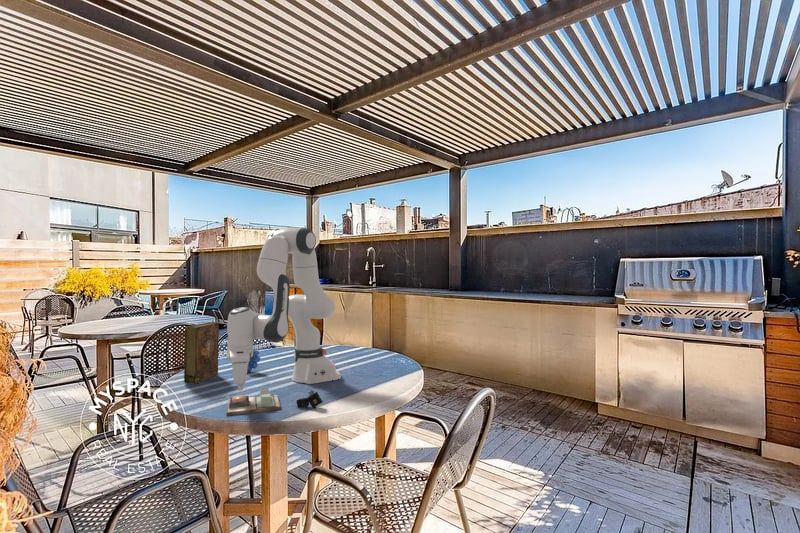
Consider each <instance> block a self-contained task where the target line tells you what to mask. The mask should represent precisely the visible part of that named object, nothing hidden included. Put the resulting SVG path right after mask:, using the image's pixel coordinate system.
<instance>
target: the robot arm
mask: <svg viewBox="0 0 800 533" xmlns="http://www.w3.org/2000/svg"><path fill="white" fill-rule="evenodd" d="M316 243H317V238H316V235H315V233H314V232H313V230H312V229H309V228H305V227H302V228H299V227H288V228H275V229H273V230H271V231H269V233H268V235H267V238H266V239H265V241H264V243H263V246H262V248H261V251H260V254H259V257H258V262H257V266H256V274H257V276H258V278H259V280H260V281H262V283H264V284H265V285H267V286H269V287H270V288H271V289H272V290H273V306H272V313H271V315H270V314H264V313H263V314H262V313H260V312H259V313H258V312H255V311H254V310H252V309H251V307H248V306H247V307H246V306H243V307H237V308H234V309H232V310H230V311H229V313H228V316H227V324H226V326H227V328H226V330H227V331H226V334H227V337H228V341H227V344H226V345H227V349H226V350H227V351H226V354H227V356H226V358H227V359H229V362H230V364H231V367H232V376H233V383H234V385H235V386H236V385H237V391H243V390H244V384H246V383H247V382H246V381H247V375H248V372H247V368H248V362H249V361H250V358H251V357H252V356H253V349H254V340H260V341H267V342H271V343H275V344H277V343H280V342H282V341H283V340H284V339H285V338H286V337H287V335H288V334H289V329H290V325H289V324H290V323H289V320H290V322H291V324H292V326H293V329H294V333H295V335H294V336H295V348H294V352H293V353H294V354H293V357H294V358H293V359H294V360H293V361H294V368H293V371H292V376H291V381H292V382H295V383H302V384H303V383H304V384H307V385H312V384H319V383H326V382H331V381H332V380H333V381H338V379H339V380H341V378H342V375H341V373H340V372H339V371H337V367H336V364H335V363H334V362H333V361H332V360H331V359H330V358H328V357H327V356H326V354H327V350H326V349H324V348H323V347H321V332H320V330H319V328H317V326H315V325H314V324H313V323H312V321H311V319H312V320H313V319H314V320H323V319H328V318H329V319H330V318H331V317H332V316H333V314H334V312H335V309H336V305H335V301H334V300H333V298H332V297H331V296H329V295H328V293H326V292H325V290H324V289H323V287H322V285H321V282H320V278H319V277H320V276H319V268H318V267H319V266H318V260H317V258H318V257H317V253H316V250H315V247H316V245H317V244H316ZM290 254H291V255H292V257H291V258H292V260H291V261H292V273H293V282H294V284H295V286H296V287H298V288H299V289H300V290H301V291H303V294H292V295H290V293H291V292H290V291H291V286H290V285H291V284H290V278H289V277H288V276H287V266H288V261H289V260H288V259H289V255H290Z"/></svg>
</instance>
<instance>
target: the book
mask: <svg viewBox="0 0 800 533" xmlns="http://www.w3.org/2000/svg"><path fill="white" fill-rule="evenodd" d="M219 326H220V324H219V322H217V321H216V322H215V321H211V322H210V321H209V322H205V323H198V324H192V325H188V326H185V328H184V365H183V366H184V371H183V381H184V384H189V383H190V384H195V385H197V384H196V383H198V384H199V382H201V383H203V382H205V380H206V381H207V380H210V379H212V378H215V377H218V376H219V341H220V340H219V338H220V336H219V334H220V333H219V332H220V329H219V328H220V327H219ZM202 381H203V382H202Z"/></svg>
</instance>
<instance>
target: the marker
mask: <svg viewBox="0 0 800 533" xmlns="http://www.w3.org/2000/svg"><path fill="white" fill-rule="evenodd" d="M259 394H260V395H259V396H260V398H261V406H268V405H270V404H271V396H270V395H271V393H270V389H269V388H264V389H260V393H259Z"/></svg>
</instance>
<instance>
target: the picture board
mask: <svg viewBox="0 0 800 533" xmlns="http://www.w3.org/2000/svg"><path fill="white" fill-rule="evenodd" d="M246 396H247V401H241V402H232V397H233V396H230V397H229V399H228V400H227V406H226V416H237V415H245V414H252V413H254V414H255V413H261V412H270V411H279V410H281V408H282V406H281V403H280V399H279V396H278V394H274V393H273V394H270V396H271V404H270V405H268V406H261V398H260V395H255V396H249V395H246Z"/></svg>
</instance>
